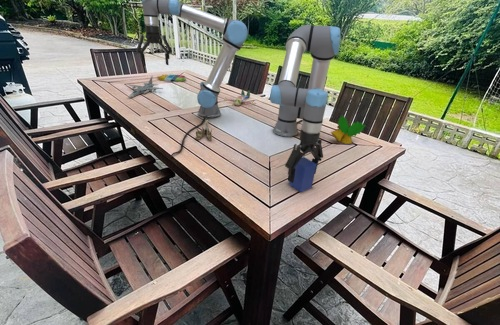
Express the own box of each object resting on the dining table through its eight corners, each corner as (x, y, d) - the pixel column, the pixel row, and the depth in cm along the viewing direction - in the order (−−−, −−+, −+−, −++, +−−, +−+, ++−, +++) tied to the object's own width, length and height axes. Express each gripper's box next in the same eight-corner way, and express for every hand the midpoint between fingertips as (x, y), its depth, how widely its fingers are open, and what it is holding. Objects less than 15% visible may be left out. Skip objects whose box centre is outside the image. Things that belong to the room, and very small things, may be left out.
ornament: (349, 145, 167) (356, 122, 165) (358, 147, 159) (366, 123, 158) (324, 137, 159) (331, 113, 157) (333, 139, 151) (341, 114, 149)
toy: (261, 91, 228) (254, 99, 202) (261, 99, 231) (253, 108, 205) (231, 87, 233) (220, 95, 207) (230, 95, 236) (219, 104, 210)
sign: (184, 80, 268) (154, 78, 265) (184, 82, 269) (154, 80, 266) (187, 75, 290) (160, 74, 287) (187, 76, 291) (160, 75, 288)
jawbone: (214, 123, 159) (213, 113, 150) (213, 145, 152) (211, 136, 143) (199, 123, 159) (196, 113, 150) (197, 144, 152) (194, 135, 143)
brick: (299, 179, 119) (304, 156, 113) (311, 187, 114) (316, 163, 108) (288, 184, 115) (292, 160, 109) (300, 192, 110) (305, 168, 104)
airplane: (122, 88, 234) (120, 76, 229) (158, 85, 247) (157, 74, 242) (127, 100, 206) (124, 88, 201) (167, 97, 219) (166, 85, 214)
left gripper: (171, 25, 156) (173, 63, 166) (126, 23, 143) (132, 64, 153) (175, 26, 151) (178, 65, 161) (130, 24, 138) (136, 66, 148)
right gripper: (324, 122, 111) (314, 165, 121) (280, 133, 97) (274, 180, 108) (338, 128, 106) (327, 173, 116) (294, 140, 92) (286, 189, 103)
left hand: (156, 65), depth 157 cm, fingers open, 13 cm apart
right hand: (301, 176), depth 112 cm, fingers open, 13 cm apart
